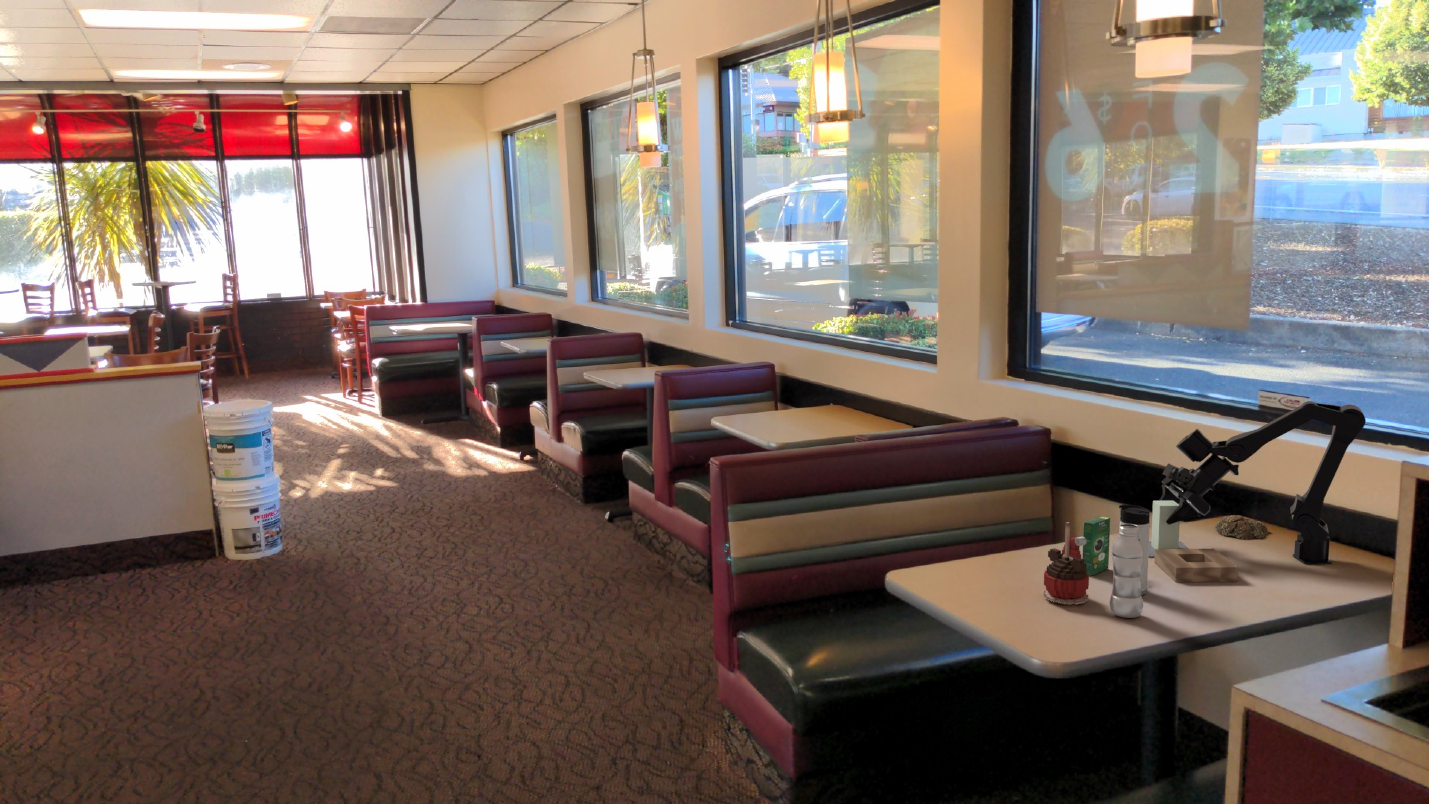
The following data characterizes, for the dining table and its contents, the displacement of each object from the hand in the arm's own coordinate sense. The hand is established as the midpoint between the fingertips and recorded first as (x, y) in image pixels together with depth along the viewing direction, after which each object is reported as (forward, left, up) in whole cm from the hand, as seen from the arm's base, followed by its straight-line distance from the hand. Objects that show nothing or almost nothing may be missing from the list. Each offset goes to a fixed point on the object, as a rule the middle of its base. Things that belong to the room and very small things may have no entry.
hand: (1160, 518), depth 263 cm
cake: (+33, +35, -9) cm, 49 cm away
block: (-1, 0, -8) cm, 8 cm away
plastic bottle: (+23, +45, -9) cm, 51 cm away
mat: (-1, 0, -8) cm, 9 cm away
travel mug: (+17, +30, -9) cm, 35 cm away
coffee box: (+21, +16, -9) cm, 28 cm away
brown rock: (-26, -14, -9) cm, 31 cm away
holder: (-2, +17, -8) cm, 19 cm away
